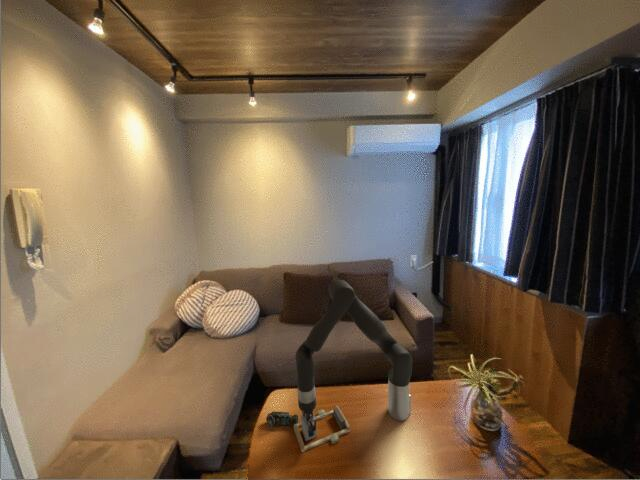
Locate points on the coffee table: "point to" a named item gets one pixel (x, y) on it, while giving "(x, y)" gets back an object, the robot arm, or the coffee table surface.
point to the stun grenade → (281, 419)
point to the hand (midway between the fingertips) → (309, 430)
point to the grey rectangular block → (306, 429)
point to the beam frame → (333, 437)
